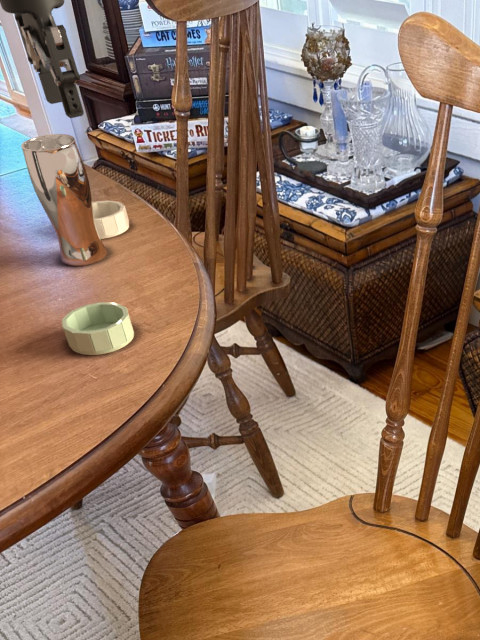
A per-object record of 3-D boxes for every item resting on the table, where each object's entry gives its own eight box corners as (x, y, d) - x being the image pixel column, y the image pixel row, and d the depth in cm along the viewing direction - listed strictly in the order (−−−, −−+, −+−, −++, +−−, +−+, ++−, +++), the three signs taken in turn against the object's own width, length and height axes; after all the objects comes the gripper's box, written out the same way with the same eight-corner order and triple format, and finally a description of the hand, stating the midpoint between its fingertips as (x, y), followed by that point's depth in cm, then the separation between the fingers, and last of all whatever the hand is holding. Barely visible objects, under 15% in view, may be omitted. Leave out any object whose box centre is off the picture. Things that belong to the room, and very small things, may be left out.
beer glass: (119, 255, 109) (86, 140, 99) (74, 272, 106) (35, 154, 95) (94, 242, 113) (60, 130, 102) (49, 257, 109) (9, 143, 99)
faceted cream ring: (88, 243, 112) (82, 224, 111) (71, 227, 117) (65, 209, 115) (136, 230, 115) (131, 211, 114) (118, 215, 120) (113, 196, 118)
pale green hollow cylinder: (94, 361, 88) (86, 339, 86) (57, 342, 92) (49, 320, 90) (147, 335, 92) (140, 313, 90) (109, 317, 96) (103, 296, 94)
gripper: (-26, -40, 97) (23, 103, 108) (4, -28, 88) (54, 127, 99) (34, -48, 100) (76, 93, 111) (69, -37, 91) (110, 115, 102)
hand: (65, 109), depth 105 cm, fingers open, 8 cm apart
